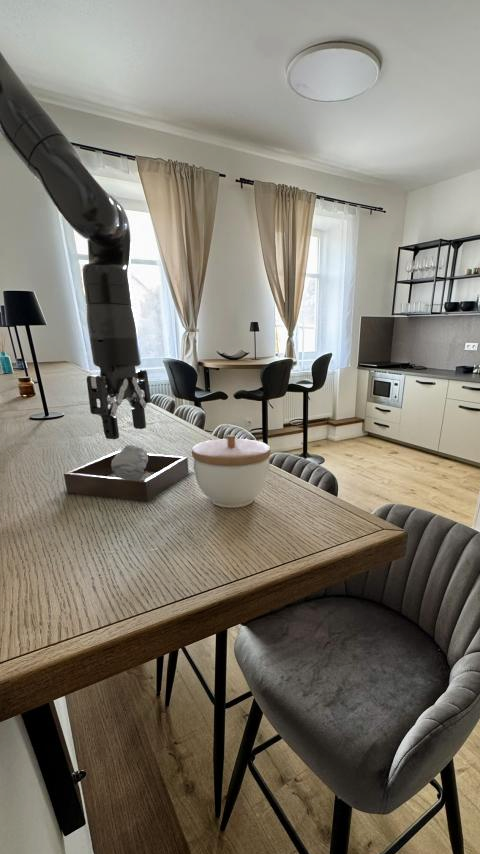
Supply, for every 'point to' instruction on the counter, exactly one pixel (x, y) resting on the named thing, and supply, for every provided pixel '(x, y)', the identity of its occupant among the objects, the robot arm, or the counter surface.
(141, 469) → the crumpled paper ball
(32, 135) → the robot arm
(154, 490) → the square wooden tray
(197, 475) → the lidded bowl
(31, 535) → the counter surface
